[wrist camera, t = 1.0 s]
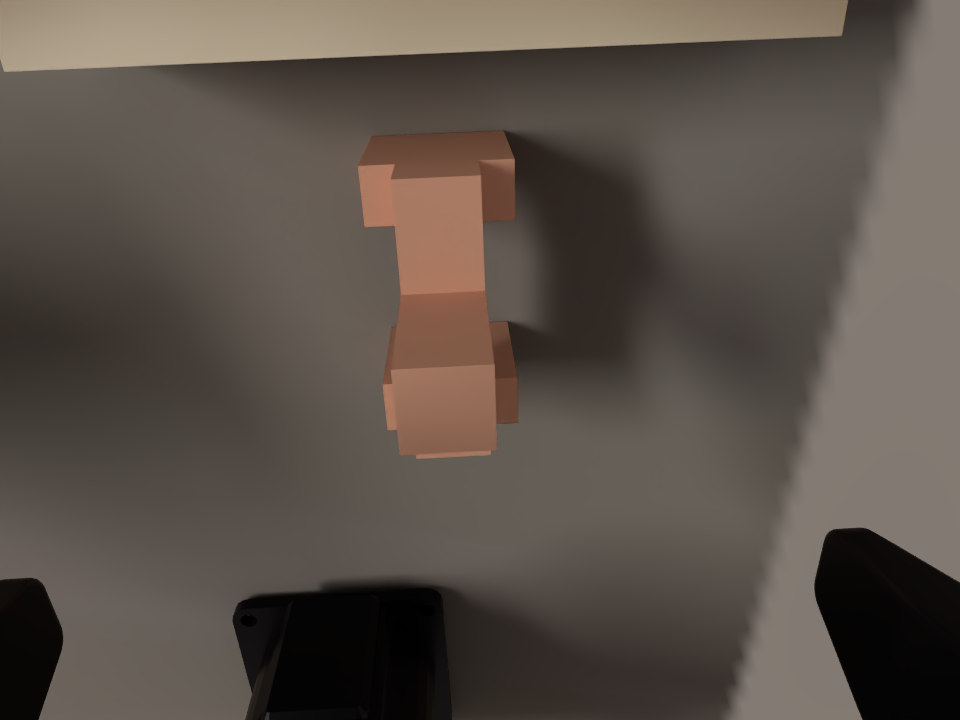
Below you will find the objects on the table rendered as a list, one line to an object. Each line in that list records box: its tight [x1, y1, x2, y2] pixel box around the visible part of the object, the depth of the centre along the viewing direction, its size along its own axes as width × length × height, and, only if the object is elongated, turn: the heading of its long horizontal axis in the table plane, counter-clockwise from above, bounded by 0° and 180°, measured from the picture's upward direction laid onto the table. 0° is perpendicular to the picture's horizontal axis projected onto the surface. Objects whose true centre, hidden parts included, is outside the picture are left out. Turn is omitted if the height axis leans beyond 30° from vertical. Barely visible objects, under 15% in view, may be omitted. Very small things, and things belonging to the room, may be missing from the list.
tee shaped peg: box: [358, 130, 518, 459], centre depth 15 cm, size 6×3×7 cm, turn 2°
